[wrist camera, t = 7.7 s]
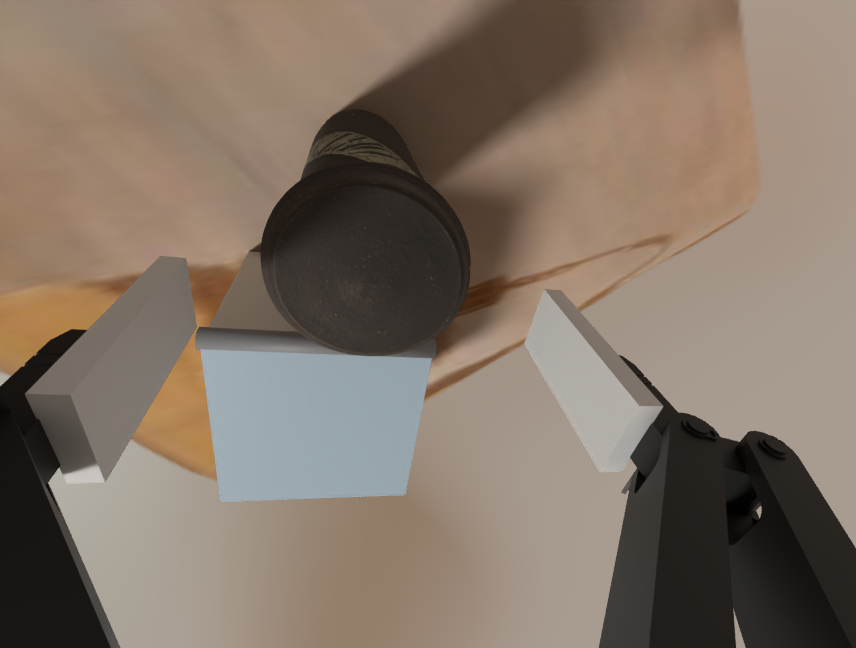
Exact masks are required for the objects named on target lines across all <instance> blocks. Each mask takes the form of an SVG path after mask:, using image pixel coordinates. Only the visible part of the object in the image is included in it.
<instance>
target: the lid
mask: <svg viewBox="0 0 856 648" xmlns="http://www.w3.org/2000/svg"><path fill="white" fill-rule="evenodd" d="M195 345H196V349H197V350H201V357H202V364H203V372H204V379H205V387H206V395H207V402H208V410H209V418H210V425H211V433H212V440H213V448H214V456H215V463H216V471H217V479H218V486H219V493H220V501H221V502H228V501H253V500H280V499H281V500H282V499H308V498H336V497H360V496H361V497H363V496H390V495H405V493H406V488H407V483H408V477H409V472H410V467H411V462H412V456H413V452H414V447H415V442H416V437H417V431H418V427H419V421H420V417H421V411H422V406H423V401H424V396H425V391H426V386H427V381H428V376H429V371H430V366H431V361H432V359H435V357H436V352H437V343H436V339H432V340H431V341H429V342H427V343H426V344H424V345H422V346H419V347H417V348H415V349H412V350H409V351H406V352H402V353H398V354H393V355H388V356H358V355H350V354H345V353H341V352H337V351H334V350H331V349H328V348H325V347H323V346H321V345H318V344H316V343H315V342H313V341H311V340H309V339H308V338H306V337H305V336H303V335H302V334H300V333H299V332H292V331H272V330H252V329H232V328H212V327H199V328H198V330H197V332H196V338H195Z"/></svg>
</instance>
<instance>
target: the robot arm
mask: <svg viewBox="0 0 856 648" xmlns="http://www.w3.org/2000/svg"><path fill="white" fill-rule="evenodd" d="M196 327H197V324H196V318H195V312H194V305H193V299H192V293H191V286H190V280H189V274H188V267H187V261H186V258H178V257H167V256H160V257H159V258H158V259H157V260H156V261H155V262H154V263H153V264H152V265H151V266H150V267H149V268H148V269H147V270H146V271H145V272H144V273H143V274H142V275H141V276H140V277H139V278H138V279H137V280H136V281H135V282H134V283H133V284H132V285H131V286H130V287H129V288H128V289H127V290H126V292H125V293H124V294H123V295H122V296H121V297H120V298H119V299H118V300H117V301H116V302H115V303H114V304H113V305H112V306H111V307H110V308H109V309H108V310H107V311H106V312H105V313H104V314H103V315H102V316H101V317H100V318H99V319H98V320H97V321H96V322H95V323H94V324H93V325H92V326H91V327H90V328H89V329H88V330H75V329H71V330H69V331H67V332H65V333H63V334H61V335H59V336H58V337H56V338H54V339H52V340H50V341H49V342H48V343H47V344H46V345H45V346H44V347H42V348H41V349H40V350H39V351H38V352H37V353H36V356H33V357H32V358H31V359H29V360H28V361H27V362H26V363H25V366H24V367H21V368H20V369H19V370H18V371H17V372H15V373H14V374H13V375H12V376H11V377H10V378H9V379H8V380H7V381H6V382H5V383H4V384H2V385H1V386H0V648H120V646H119V644H118V642H117V639H116V637H115V635H114V632H113V630H112V628H111V625H110V623H109V621H108V618H107V616H106V614H105V612H104V609H103V607H102V605H101V602H100V600H99V598H98V595H97V593H96V591H95V589H94V586H93V584H92V582H91V579H90V577H89V575H88V572H87V570H86V568H85V566H84V563H83V561H82V559H81V557H80V554H79V552H78V549H77V547H76V545H75V543H74V540H73V538H72V536H71V533H70V531H69V529H68V526H67V524H66V522H65V520H64V517H63V515H62V513H61V510H60V508H59V506H58V503H57V501H56V499H55V497H54V495H53V492H52V490H51V488H50V486H49V484H48V482H49V480H50V479H51V478H52V476H53V475H54V473H55V472H56V471H57V469H58V468H59V467H60V470H61V472H62V474H63V476H64V478H65V480H66V482H67V483H100V482H101V483H104V482H106V480H107V478H108V477H109V475H110V473H111V472H112V470H113V468H114V467H115V465H116V463H117V461H118V460H119V458H120V456H121V455H122V453H123V451H124V450H125V448H126V446H127V445H128V443H129V441H130V439H131V438H132V436H133V434H134V433H135V431H136V429H137V428H138V426H139V424H140V422H141V421H142V419H143V417H144V416H145V414H146V412H147V411H148V409H149V407H150V406H151V404H152V402H153V400H154V399H155V397H156V395H157V394H158V392H159V390H160V389H161V387H162V385H163V383H164V382H165V380H166V378H167V377H168V375H169V373H170V372H171V370H172V368H173V367H174V365H175V363H176V361H177V360H178V358H179V356H180V355H181V353H182V351H183V350H184V348H185V346H186V344H187V343H188V341H189V339H190V338H191V336H192V334H193V333H194V331H195V329H196ZM524 345H525V346H526V348H527V350H528V352H529V353H530V355H531V357H532V358H533V360H534V361H535V363H536V365H537V367H538V368H539V370H540V372H541V373H542V375H543V377H544V379H545V380H546V382H547V384H548V385H549V387H550V389H551V390H552V392H553V394H554V396H555V397H556V399H557V401H558V402H559V404H560V406H561V407H562V409H563V411H564V412H565V414H566V416H567V418H568V419H569V421H570V423H571V424H572V426H573V428H574V429H575V431H576V433H577V435H578V436H579V438H580V440H581V441H582V443H583V445H584V447H585V448H586V450H587V452H588V453H589V455H590V457H591V458H592V460H593V462H594V463H595V465H596V467H597V469H598V470H599V472H621V471H622V470H623V469H624V467H625V465H626V464H627V462H628V461H629V459H630V458H631V459H632V461H633V462H634V464H635V465H636V467H637V469H636V471H635V472H634V474H633V475H632V477H631V478H630V480H629V481H628V483H627V484H626V486H625V487H624V489H623V490H622V493H624V494H626V492H627V491H628V490H629V494H628V499H627V505H626V510H625V516H624V520H623V525H622V530H621V536H620V541H619V547H618V552H617V556H616V562H615V567H614V572H613V577H612V582H611V587H610V593H609V598H608V603H607V608H606V614H605V619H604V624H603V629H602V634H601V639H600V644H599V648H736V642H735V627H734V613H733V608H734V611H735V615H736V618H737V621H738V624H739V628H740V631H741V634H742V637H743V640H744V643H745V647H746V648H856V548H855V546H854V545H853V543H852V541H851V540H850V538H849V537H848V535H847V534H846V532H845V530H844V529H843V527H842V526H841V524H840V522H839V521H838V519H837V518H836V516H835V515H834V513H833V511H832V510H831V508H830V507H829V505H828V503H827V502H826V500H825V499H824V497H823V496H822V494H821V492H820V491H819V489H818V487H817V486H816V484H815V483H814V481H813V480H812V478H811V476H810V475H809V473H808V472H807V470H806V468H805V467H804V465H803V464H802V462H801V461H800V459H799V457H798V456H797V455H796V454H795V453H794V451H793V450H792V449H790V448H789V447H788V446H787V445H785V443H784V442H782V441H781V440H778V439H777V438H775V437H773V436H770V435H768V434H765V433H762V432H758V431H750V432H748V433H747V434H746V435H745V437H744V438H743V439H742V440H741V441H740V442H737V441H733V440H730V439H726V438H721V437H720V436H719V434H718V433H717V432H716V431H715V430H714V428H713V427H711V426H710V425H709V424H707V423H706V422H705V421H703V420H701V419H699V418H697V417H696V416H693V415H690V414H686V413H678V412H677V411H676V410H675V409H674V408H673V406H672V405H671V404H670V403H669V402H668V401H667V400H666V399H665V398H664V397H663V395H662V394H661V393H660V392H659V391H658V390H657V389H656V388H655V387H654V386H652V385H651V384H652V383H651V382H650V381H649V380H648V379H647V378H646V377H644V375H643V373H642V372H641V371H640V370H639V369H638V368H637V367H636V366H635V365H634V364H633V363H631V362H630V361H628V360H627V359H626V358H624V357H623V356H620V355H618V354H617V353H616V352H615V351H614V350H613V349H612V347H611V346H610V345H609V344H608V343H607V342H606V341H605V340H604V338H603V337H602V336H601V335H600V334H599V333H598V332H597V330H596V329H595V328H594V327H593V326H592V325H591V324H590V323H589V321H588V320H587V319H586V318H585V317H584V316H583V315H582V314H581V312H580V311H579V310H578V309H577V308H576V307H575V306H574V304H573V303H572V302H571V301H570V300H569V299H568V298H567V297H566V295H565V294H564V293H563V292H562V291H560V290H548V289H544V291H543V294H542V296H541V299H540V302H539V305H538V308H537V310H536V313H535V316H534V319H533V322H532V324H531V327H530V330H529V333H528V335H527V338H526V341H525V344H524ZM760 506H761V507H762V513H761V517H760V518H759V516H758V514H757V512H756V510H757V509H758V508H759V507H760Z"/></svg>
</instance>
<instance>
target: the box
mask: <svg viewBox="0 0 856 648" xmlns="http://www.w3.org/2000/svg"><path fill="white" fill-rule="evenodd" d="M260 253H261V252H252V251H249V252H248V254H247V256H246V258H245V260H244V262H243V263H242V265H241V267H240V269H239V271H238V273H237V275H236V277H235V279H234V281H233V283H232V285H231V286H230V288H229V290H228V292H227V294H226V296H225V298H224V300H223V302H222V304H221V306H220V307H219V309H218V311H217V313H216V315H215V317H214V319H213V321H212V323H211V325H210V327H212V328H232V329H252V330H272V331H292V332H298V331H296V330H295V329H294V328H293V327H292V326H291V325H290V324H289V323H288V322H287V321H286V320H285V319H284V318H283V317H282V316H281V314H280V313H279V312H278V310H277V309H276V307H275V305H274V304H273V302H272V300H271V299H270V296H269V294H268V292H267V289H266V286H265V283H264V279H263V275H262V269H261V256H260Z"/></svg>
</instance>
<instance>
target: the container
mask: <svg viewBox="0 0 856 648" xmlns="http://www.w3.org/2000/svg"><path fill="white" fill-rule="evenodd" d="M260 256H261V269H262V275H263V279H264V283H265V286H266V289H267V292H268V294H269V296H270V299H271V300H272V302H273V304H274V305H275V307H276V309H277V310H278V312H279V313H280V314H281V316H282V317H283V318H284V319H285V320H286V321H287V322H288V323H289V324H290V325H291V326H292V327H293V328H294V329H295V330H296V331H298V332H299V333H300V334H302V335H303V336H305V337H306V338H308V339H309V340H311V341H313V342H315V343H316V344H318V345H321V346H323V347H325V348H328V349H331V350H334V351H337V352H341V353H345V354H350V355H358V356H388V355H393V354H398V353H402V352H406V351H409V350H412V349H415V348H417V347H419V346H422V345H424V344H426V343H427V342H429V341H431V340H432V339H434V338H435V337H436V336H438V335H439V334H440V333H441V332H442V331H443V330H444V329H445V328H446V327H447V326H448V325H449V324H450V323H451V322H452V321H453V319H454V318H455V317H456V315H457V313H458V312H459V310H460V308H461V306H462V304H463V302H464V299H465V297H466V294H467V290H468V287H469V281H470V251H469V245H468V241H467V238H466V235H465V232H464V229H463V227H462V225H461V223H460V221H459V219H458V217H457V215H456V214H455V212H454V211H453V209H452V208H451V207H450V205H449V204H448V203H447V201H446V200H445V199H444V198H443V197H442V196H441V195H440V194H439V193H438V192H437V191H436V190H435V189H434V188H433V187H431V186H430V185H429V184H428V183H426V182H425V180H424V179H423V177H422V176H421V174H420V172H419V170H418V168H417V167H416V165H415V163H414V161H413V159H412V157H411V155H410V152H409V150H408V148H407V146H406V144H405V143H404V141H403V139H402V138H401V136H400V135H399V134H398V132H397V131H396V130H395V129H394V128H393V127H392V126H391V125H390V124H389V123H388V122H386V121H385V120H383V119H382V118H380V117H379V116H377V115H375V114H372V113H369V112H366V111H361V110H348V111H344V112H341V113H338V114H336V115H334V116H333V117H331V118H330V119H328V120H327V121H326V123H325V124H324V125H323V126H322V127H321V129H320V130H319V132H318V133H317V135H316V137H315V139H314V141H313V144H312V147H311V149H310V152H309V156H308V159H307V162H306V165H305V167H304V170H303V173H302V177H301V180H300V181H299V182H298V183H296V184H295V185H294V186H293V187H292V188H290V189H289V190H288V191H287V192H286V193H285V194H284V195H283V197H282V198H281V199H280V200H279V202H278V203H277V204H276V206H275V207H274V209H273V211H272V213H271V215H270V216H269V219H268V221H267V223H266V226H265V229H264V233H263V237H262V243H261V253H260Z"/></svg>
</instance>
